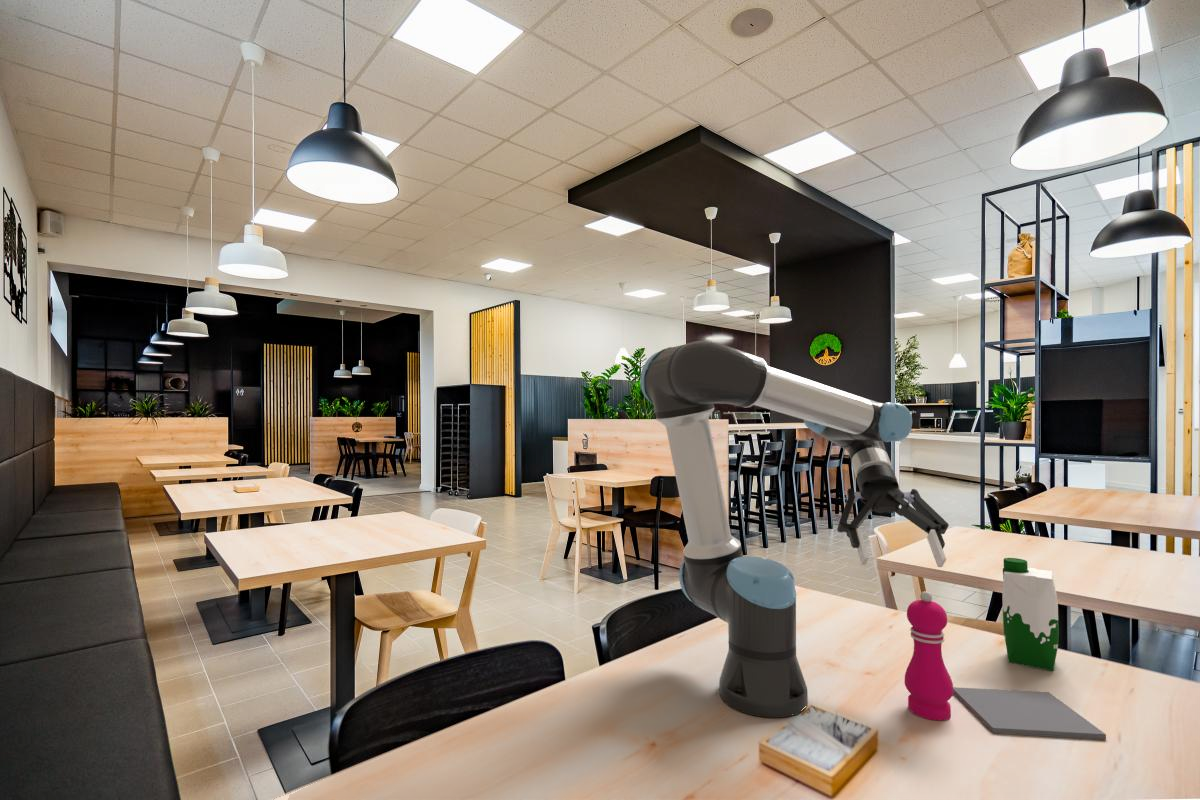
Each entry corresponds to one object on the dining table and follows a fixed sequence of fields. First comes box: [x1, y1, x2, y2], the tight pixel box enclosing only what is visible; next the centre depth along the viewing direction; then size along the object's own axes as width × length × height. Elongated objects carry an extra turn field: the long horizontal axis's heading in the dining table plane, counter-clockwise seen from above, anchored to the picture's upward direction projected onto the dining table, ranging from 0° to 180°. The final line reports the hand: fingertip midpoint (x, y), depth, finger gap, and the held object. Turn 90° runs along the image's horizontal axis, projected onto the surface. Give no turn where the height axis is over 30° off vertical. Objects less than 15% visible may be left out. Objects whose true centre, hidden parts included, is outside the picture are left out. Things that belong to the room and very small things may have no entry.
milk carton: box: [1001, 557, 1060, 672], centre depth 119 cm, size 9×9×20 cm
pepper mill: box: [904, 590, 954, 721], centre depth 99 cm, size 7×7×20 cm
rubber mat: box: [953, 686, 1107, 740], centre depth 97 cm, size 16×14×1 cm
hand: (903, 562), depth 109 cm, fingers open, 13 cm apart
